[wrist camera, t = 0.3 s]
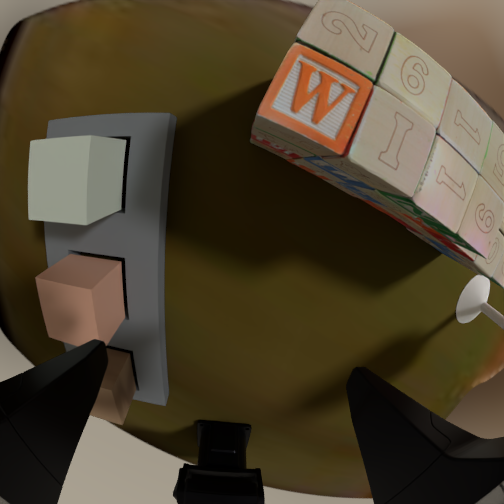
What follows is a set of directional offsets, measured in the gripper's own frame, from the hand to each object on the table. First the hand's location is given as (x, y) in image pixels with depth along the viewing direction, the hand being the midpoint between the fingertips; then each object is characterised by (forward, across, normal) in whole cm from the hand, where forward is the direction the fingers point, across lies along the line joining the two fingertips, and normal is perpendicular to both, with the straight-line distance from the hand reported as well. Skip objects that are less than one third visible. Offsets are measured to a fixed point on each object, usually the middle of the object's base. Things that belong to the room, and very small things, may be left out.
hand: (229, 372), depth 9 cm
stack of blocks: (+14, -11, -8) cm, 19 cm away
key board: (+14, +11, +4) cm, 18 cm away
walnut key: (+12, +11, +13) cm, 20 cm away
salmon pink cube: (+11, +11, +4) cm, 16 cm away
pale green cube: (+11, +11, -5) cm, 17 cm away
